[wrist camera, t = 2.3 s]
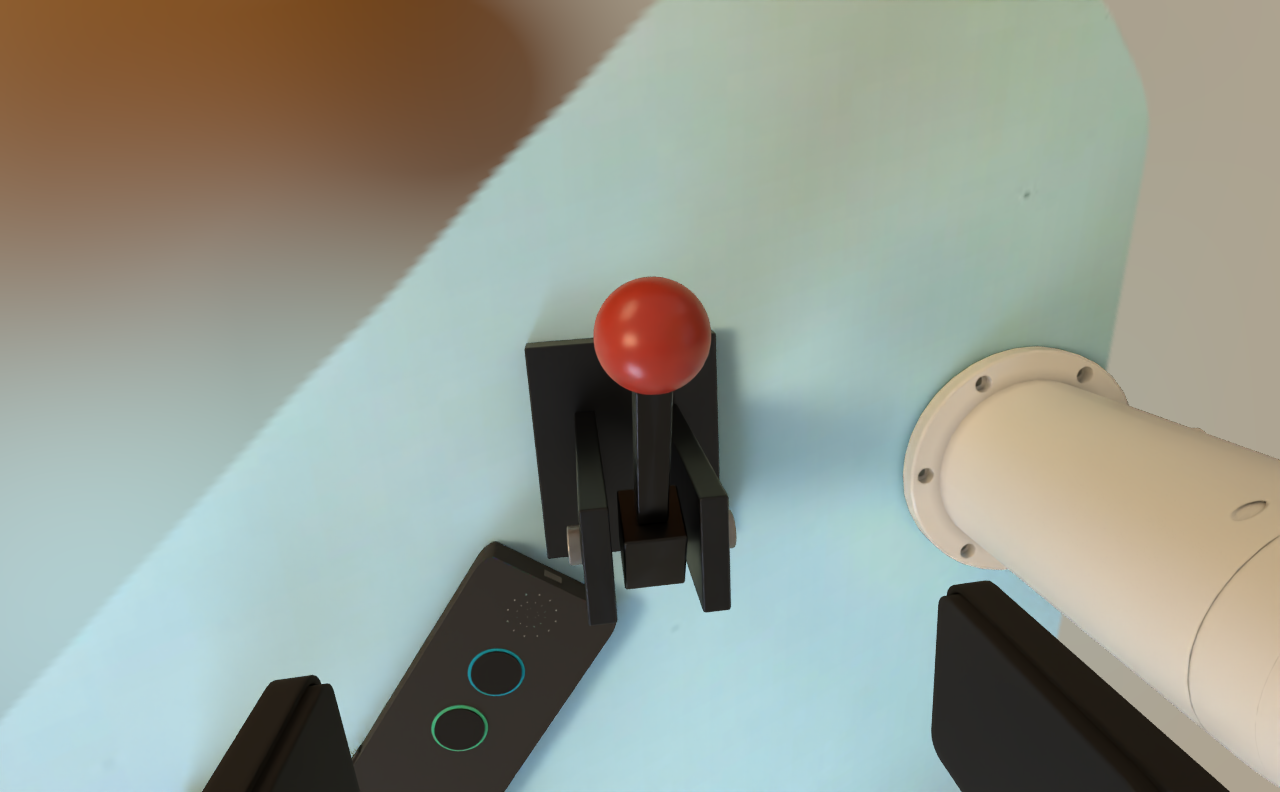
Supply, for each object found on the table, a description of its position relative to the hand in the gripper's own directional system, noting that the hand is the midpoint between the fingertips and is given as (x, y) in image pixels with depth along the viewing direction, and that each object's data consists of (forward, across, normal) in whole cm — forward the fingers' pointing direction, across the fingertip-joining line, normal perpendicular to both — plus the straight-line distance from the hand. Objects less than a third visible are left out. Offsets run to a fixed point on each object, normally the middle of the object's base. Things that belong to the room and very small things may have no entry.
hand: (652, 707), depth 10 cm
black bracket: (+23, -1, +4) cm, 24 cm away
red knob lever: (+13, -1, -1) cm, 13 cm away
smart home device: (+23, +9, +19) cm, 31 cm away
